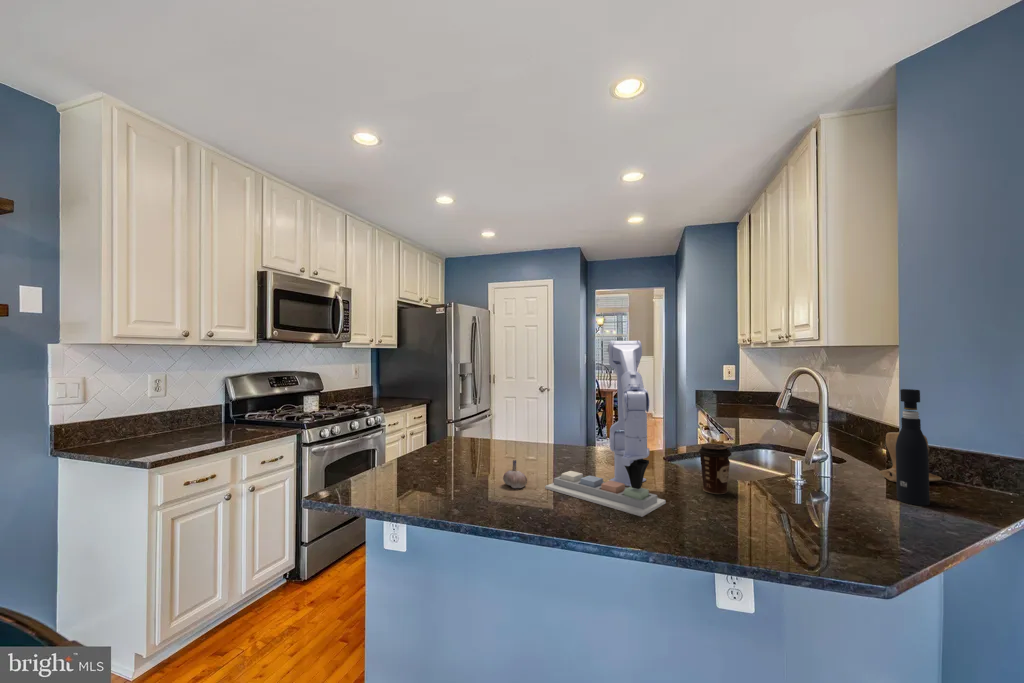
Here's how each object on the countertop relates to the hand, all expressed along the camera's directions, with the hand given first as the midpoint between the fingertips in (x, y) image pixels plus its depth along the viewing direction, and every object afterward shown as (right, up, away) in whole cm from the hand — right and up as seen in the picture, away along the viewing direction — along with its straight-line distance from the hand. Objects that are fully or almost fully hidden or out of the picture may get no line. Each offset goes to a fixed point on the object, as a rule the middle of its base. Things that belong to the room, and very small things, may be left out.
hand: (636, 487), depth 112 cm
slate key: (-10, -3, +10) cm, 14 cm away
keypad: (-8, -5, +7) cm, 11 cm away
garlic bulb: (-32, -5, +16) cm, 36 cm away
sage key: (0, -3, 0) cm, 3 cm away
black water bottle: (+75, -5, +2) cm, 75 cm away
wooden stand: (+91, -5, +21) cm, 94 cm away
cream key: (-15, -3, +15) cm, 21 cm away
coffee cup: (+26, -5, +11) cm, 29 cm away
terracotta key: (-5, -3, +5) cm, 7 cm away
